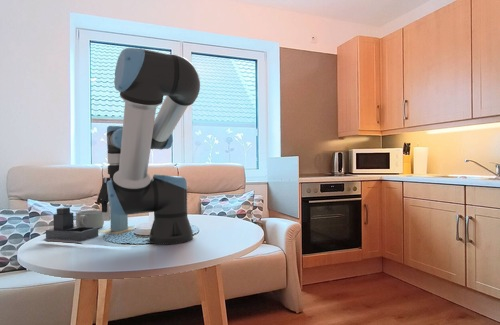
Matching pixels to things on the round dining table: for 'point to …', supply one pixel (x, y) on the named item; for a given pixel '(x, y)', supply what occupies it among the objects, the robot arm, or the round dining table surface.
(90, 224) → the teacup
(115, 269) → the round dining table surface
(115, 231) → the board
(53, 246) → the round dining table surface
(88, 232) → the dark grey block holder
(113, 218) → the plug
